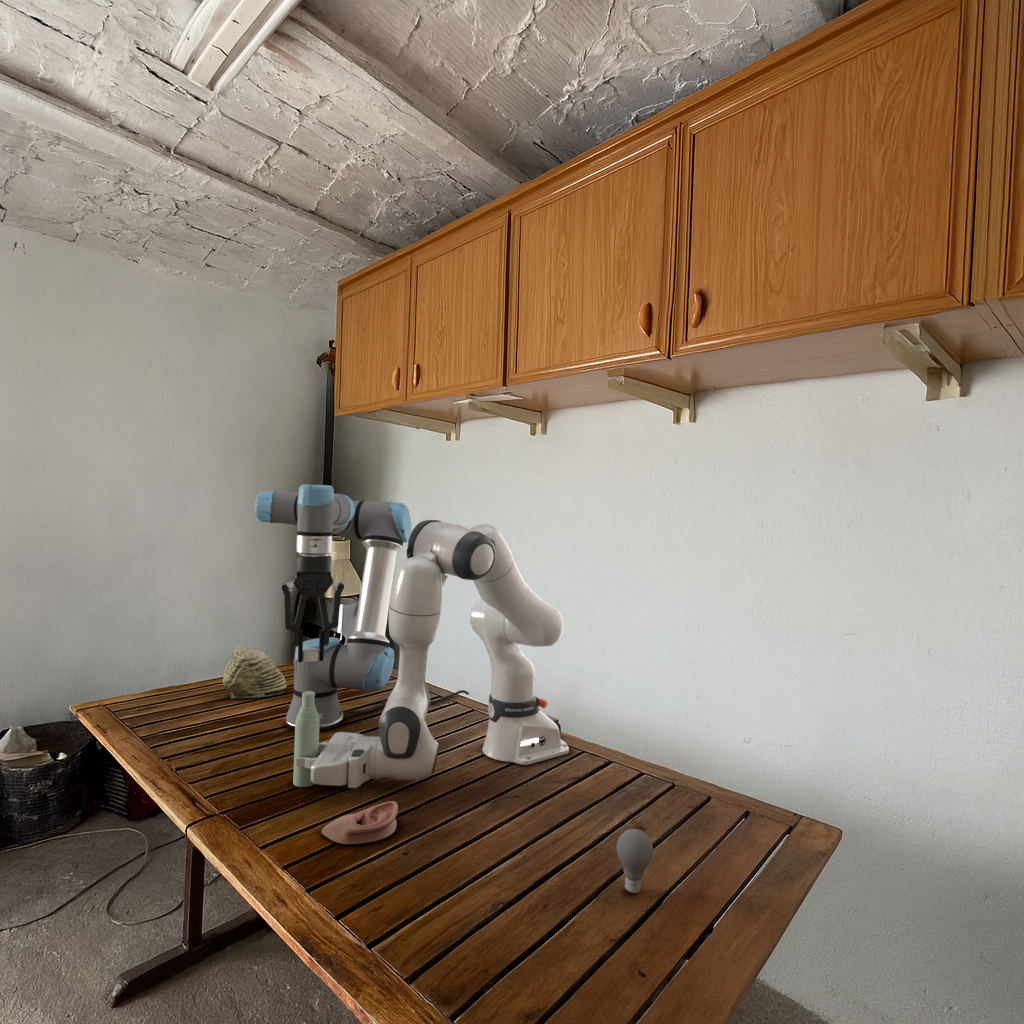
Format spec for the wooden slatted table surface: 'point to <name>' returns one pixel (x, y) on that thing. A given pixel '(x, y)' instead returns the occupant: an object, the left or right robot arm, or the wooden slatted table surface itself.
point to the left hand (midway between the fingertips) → (310, 659)
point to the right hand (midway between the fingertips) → (302, 754)
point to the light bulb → (634, 857)
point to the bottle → (306, 738)
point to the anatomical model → (364, 825)
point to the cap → (310, 655)
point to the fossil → (252, 674)
